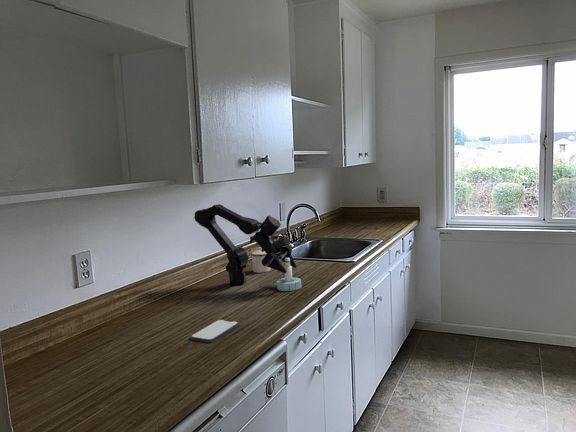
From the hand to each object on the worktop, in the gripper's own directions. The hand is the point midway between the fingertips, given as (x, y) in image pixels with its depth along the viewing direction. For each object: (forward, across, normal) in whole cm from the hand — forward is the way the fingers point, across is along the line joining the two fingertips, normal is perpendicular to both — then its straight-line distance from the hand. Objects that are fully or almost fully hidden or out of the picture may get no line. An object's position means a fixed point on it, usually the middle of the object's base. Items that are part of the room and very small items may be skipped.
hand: (290, 269), depth 198 cm
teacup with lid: (-15, +23, +26) cm, 38 cm away
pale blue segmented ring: (+4, 0, +6) cm, 8 cm away
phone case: (+5, -53, +7) cm, 53 cm away
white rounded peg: (+4, 0, +6) cm, 8 cm away
